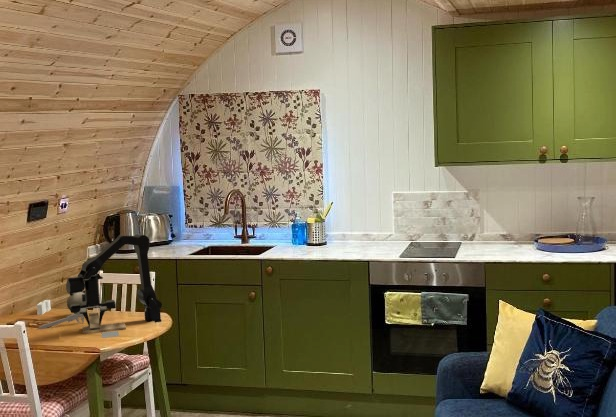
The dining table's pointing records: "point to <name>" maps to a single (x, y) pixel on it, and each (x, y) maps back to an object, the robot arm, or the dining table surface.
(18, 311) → the dining table surface
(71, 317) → the caliper
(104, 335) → the mat
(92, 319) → the block
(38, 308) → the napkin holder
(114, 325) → the oak board
